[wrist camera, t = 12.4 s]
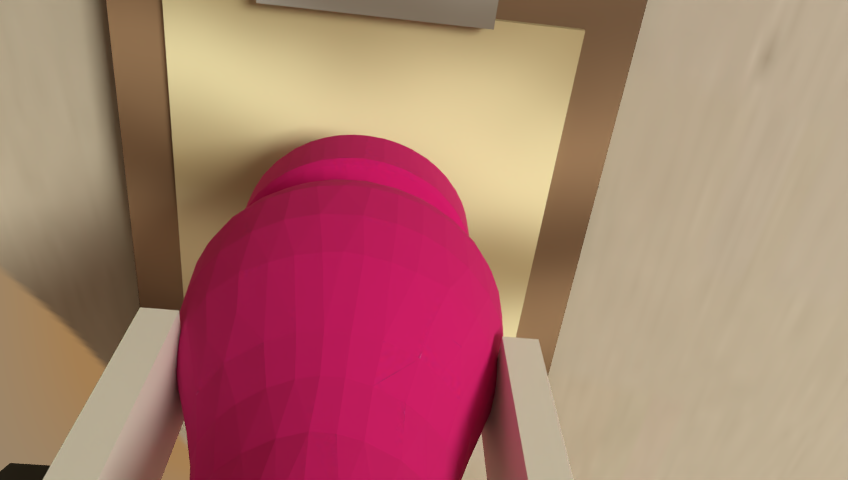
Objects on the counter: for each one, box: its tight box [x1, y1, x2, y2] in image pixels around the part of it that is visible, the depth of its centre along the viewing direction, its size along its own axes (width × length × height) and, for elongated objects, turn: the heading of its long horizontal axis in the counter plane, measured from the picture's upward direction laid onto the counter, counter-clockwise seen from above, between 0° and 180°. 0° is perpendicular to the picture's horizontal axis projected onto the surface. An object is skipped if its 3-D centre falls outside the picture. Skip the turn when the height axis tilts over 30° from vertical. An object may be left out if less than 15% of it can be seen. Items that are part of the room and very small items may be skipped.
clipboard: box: [106, 0, 647, 375], centre depth 21 cm, size 16×14×2 cm
